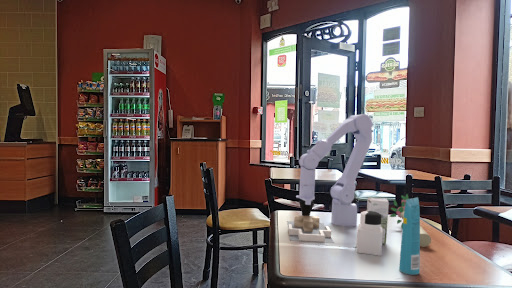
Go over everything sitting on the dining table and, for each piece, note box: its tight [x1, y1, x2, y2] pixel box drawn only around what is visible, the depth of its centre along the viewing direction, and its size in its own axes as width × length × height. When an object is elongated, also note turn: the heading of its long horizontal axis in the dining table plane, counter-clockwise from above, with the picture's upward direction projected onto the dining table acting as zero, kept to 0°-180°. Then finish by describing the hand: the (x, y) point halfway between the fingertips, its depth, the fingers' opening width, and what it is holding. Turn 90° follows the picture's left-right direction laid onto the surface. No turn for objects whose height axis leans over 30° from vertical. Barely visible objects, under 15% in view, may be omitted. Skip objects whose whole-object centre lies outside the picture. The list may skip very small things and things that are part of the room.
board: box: [286, 221, 335, 245], centre depth 128 cm, size 14×26×1 cm, turn 177°
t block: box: [293, 214, 320, 232], centre depth 132 cm, size 9×9×4 cm
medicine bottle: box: [355, 210, 383, 257], centre depth 110 cm, size 7×7×12 cm
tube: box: [398, 196, 421, 276], centre depth 94 cm, size 7×5×19 cm, turn 140°
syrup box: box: [366, 196, 390, 245], centre depth 121 cm, size 6×6×14 cm
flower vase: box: [388, 193, 432, 248], centre depth 134 cm, size 12×12×35 cm
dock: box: [287, 224, 332, 243], centre depth 122 cm, size 14×13×2 cm
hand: (305, 220), depth 139 cm, fingers closed
